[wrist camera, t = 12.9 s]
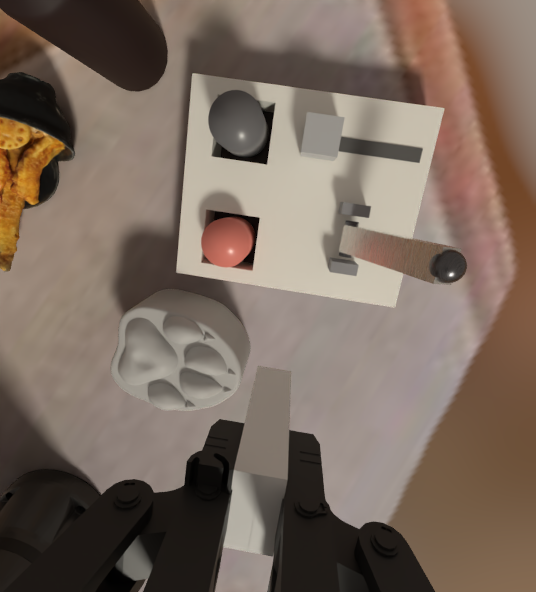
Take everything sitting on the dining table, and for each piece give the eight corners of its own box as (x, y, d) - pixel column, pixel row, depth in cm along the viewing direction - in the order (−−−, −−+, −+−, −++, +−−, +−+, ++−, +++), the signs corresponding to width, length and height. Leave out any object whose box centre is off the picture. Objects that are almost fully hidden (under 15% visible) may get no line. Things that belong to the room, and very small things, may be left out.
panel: (187, 265, 40) (168, 277, 34) (203, 86, 36) (184, 63, 30) (385, 297, 40) (401, 314, 33) (428, 118, 35) (456, 100, 29)
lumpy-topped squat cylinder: (152, 279, 41) (116, 299, 33) (262, 314, 41) (253, 342, 33) (134, 360, 44) (97, 397, 36) (237, 392, 44) (223, 436, 36)
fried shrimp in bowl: (78, 71, 32) (42, 273, 31) (90, 127, 42) (64, 280, 41) (-51, 29, 29) (-96, 252, 28) (-4, 100, 39) (-35, 265, 38)
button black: (219, 154, 35) (205, 146, 30) (224, 104, 34) (211, 86, 28) (264, 161, 35) (258, 153, 29) (271, 110, 34) (266, 94, 28)
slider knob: (300, 156, 33) (300, 151, 30) (306, 120, 32) (307, 111, 29) (333, 161, 33) (337, 157, 30) (340, 124, 32) (344, 117, 29)
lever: (331, 254, 33) (442, 294, 22) (338, 219, 33) (456, 242, 22) (351, 255, 34) (466, 295, 23) (358, 221, 34) (481, 246, 22)
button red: (212, 254, 39) (198, 263, 34) (216, 213, 38) (203, 215, 32) (252, 261, 39) (245, 270, 33) (258, 219, 38) (252, 222, 32)
